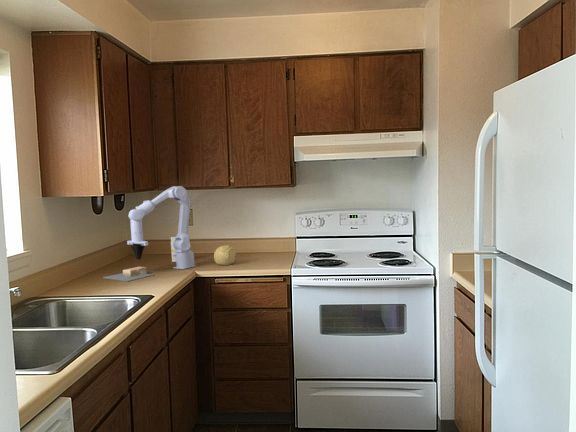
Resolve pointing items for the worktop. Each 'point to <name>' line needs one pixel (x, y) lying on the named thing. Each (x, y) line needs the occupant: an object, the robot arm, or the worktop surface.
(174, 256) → the ink cartridge box
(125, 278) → the mat
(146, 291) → the worktop surface
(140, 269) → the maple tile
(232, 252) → the beige lumpy ball
